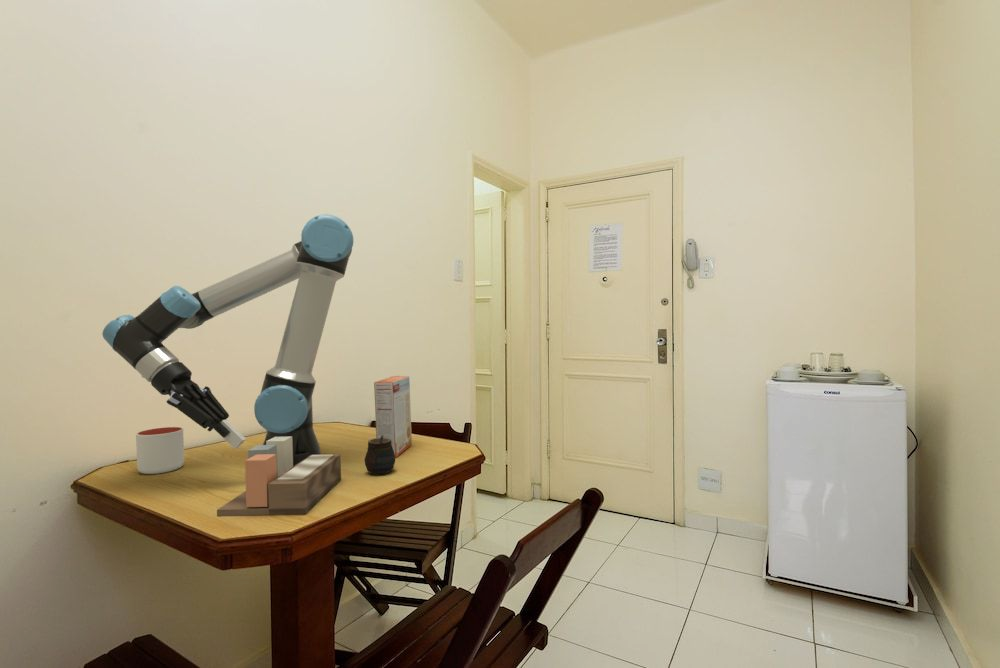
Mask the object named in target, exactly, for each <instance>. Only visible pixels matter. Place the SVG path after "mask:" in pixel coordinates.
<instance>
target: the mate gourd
mask: <svg viewBox="0 0 1000 668" xmlns="http://www.w3.org/2000/svg"><path fill="white" fill-rule="evenodd" d="M383 436H384V435H383ZM383 436H381V438H376V437H374V438H371V439H368V441H367V450H366V453H365V456H364V466H365V467H366V470H367V472H368V473H370V474H372V475H375V476H381V475H383V476H384V475H386V474H389V473H390V472H392V470H393V469H394V467H395V463H396V458H395V454H394V451H393V448H392V445H391V441H392V440H391V439H389V438H383Z"/></svg>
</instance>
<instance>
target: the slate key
mask: <svg viewBox="0 0 1000 668" xmlns="http://www.w3.org/2000/svg"><path fill="white" fill-rule="evenodd" d="M257 454H276V463H277V445H263V444H258V445H255V446H253V447H251V448H250V449H248V450H247V459H249V458H251V457H253V456H254V455H257ZM277 478H278V472H277Z"/></svg>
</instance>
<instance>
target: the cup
mask: <svg viewBox="0 0 1000 668" xmlns="http://www.w3.org/2000/svg"><path fill="white" fill-rule="evenodd" d="M135 438H136V439H135V440H136V441H135V443H136V446H135V447H136V469H137V471H138V472H139V473H141V474H144V475H155V474H156V475H158V474H164V473H169V472H173V471H176V470H179V469H180V468H181V467H182V466H184V463H185V448H184V447H185V444H184V442H185V441H184V439H185V438H184V428H183V427H181V426H170V427H169V426H168V427H167V426H166V427H165V426H164V427H157V428H151V429H150V428H149V429H145V430H142V431H138V432H136V433H135Z"/></svg>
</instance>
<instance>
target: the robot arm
mask: <svg viewBox="0 0 1000 668" xmlns="http://www.w3.org/2000/svg"><path fill="white" fill-rule="evenodd" d="M300 236H301V241H298V242H296V243H294V244H293V245H292V247H291V249H290V250H288V251H285V252H283V253H282V254H279V255H276V256H274V257H271V258H270V259H267V260H265V261H264V262H263V261H262V262H261V263H259V264H257V265H254V266H252V267H250V268H247V269H244V270H243V271H241V272H238V273H236V274H234V275H232V276H230V277H227V278H225V279H223V280H221V281H218V282H216V283H213V284H212V285H209V286H207V287H205V288H202V289H200V290H198V291H196V292H194V293H191V292H189V291H188V290H187V289H185V288H183V287H182V286H180V285H174V286H172V287H170V288H169V289H168V290H166V291H165V292H163V293H162V294H161V295H160V296H159V297H157V299H155V300H154V302H152V303H151V304H149V306H147V307H146V308H145V309H144V310H143V311H142V312H140V313H139V314H137V316H135V317H134V316H133V315H132V314H131V315H130V314H123V315H121V316H118V317H116V318H115V319H113V320H110V321H109V322H108V323H107V324H106V325H105V326H104V328H103V330H102V333H101V334H102V337H103V339H104V341H105V342H106V343H107V344H109V346H110V347H111V349H112V350H113V351H114V352H116V354H118V355H119V356H120V357H122V358H123V360H125V361H126V362H127V363H128V364H129V365H130V366H131V367H132V368H133V369H134V370H136V371H137V372H138V373H139V374H140V375H141V377H142V378H143V379H145V380H146V381H147V382H148V383H150V385H151V386H152V387H153V388H154V389H155V391H157V392H158V393H159V394H160V395H163V396H166V395H169V398H167V400H166V403H167V405H169V406H171V407H173V408H176V409H177V410H178V411H180V412H181V413H182V414H184V415H185V416H187V417H188V418H189V419H191V420H192V421H193V422H195V423H196V424H197V425H199V426H200V427H202V428H203V429H205V430H207V431H208V432H212V430H214V431H215V432H216V433H218V434H219V435H220V436H221V437H222V438H223V439H224V440H225V441H226V442H227V444H229V445H230V446H231V447H232V448H233V449H235V450H236V449H238V448H239V447H240V446H241V445H242V444H243V443H244V442H245V441H246V440H247V438H246V437H245V436H244V435H243V434H242V433H241V432H240V431H239V430H238V429H237V428H236V427H234V425H232V424H231V423H230V422H229V421H228V420H227V419H228V418H229V417H230V415H229V412H228V411H227V410H226V409H225V408H224V407H223V405H222V404H221V403H220V402H219V401H218V399H217V398H216V397H215V395H214V394H213V393H212V390H211V388H210V387H209V386H204V388H203V387H200V386H199V384H198V383H196V382H194V380H192V378H191V377H192V374H193V372H192V371H191V370H190V368H188V367H187V366H186V364H184V363H183V362H181V361H180V359H179V358H178V357H177V356H176V355H175V354H173V352H172V351H170V350H169V348H167V347H166V346H165V345H164V344H163V342H164V341H166V339H167V338H168V337H170V336H171V335H172V334H173V333H174V332H176V331H177V330H178V329H190V330H191V329H195V328H198V327H200V326H202V325H203V324H204V323H205V322H207V321H209V320H211V319H213V318H216V317H217V316H219V315H222V314H224V313H226V312H228V311H230V310H232V309H234V308H237V307H239V306H242V305H245V304H246V303H248V302H250V301H253V300H254V299H256V298H259V297H261V296H263V295H265V294H267V293H270V292H272V291H274V290H276V289H279V288H281V287H283V286H284V285H288V284H290V283H292V282H295V281H296V280H297V284H296V288H295V292H294V296H293V298H292V299H293V300H292V302H291V306H290V310H289V314H288V318H287V321H286V325H285V328H284V331H283V335H282V340H281V343H280V347H279V351H278V354H277V357H276V361H275V365H274V366H273V367H271V368H270V369H268V370H267V371H265V372H266V373H265V376H264V379H263V384H262V387H261V389H260V393H259V395H258V396H257V398H256V399H255V402H254V406H253V409H254V417H255V419H256V421H257V423H258V424H259V425H260V426H261V427H262V428H263V429H264V430H266V434H265V438H264V441H263V444H262V445H266V441H268V440H270V439H272V438H274V437H287V436H292V445H293V466H295V465H297V464H298V463H300V462H301V461H302V460H304V459H305V458H307V457H308V456H310V455H321V446H320V443H319V441H318V438H317V435H316V433H315V430H314V417H313V395H314V391H315V386H316V381H317V380H315V377H314V376H313V368H314V365H315V361H316V358H317V354H318V352H319V351H318V350H319V347H320V342H321V339H322V336H323V333H324V328H325V325H326V321H327V316H328V312H329V309H330V306H331V303H332V298H333V294H334V291H335V286H336V285H337V284H336V283H337V282H338V281H340V280H341V279H342V278H344V277H345V274H346V270H347V267H348V263H349V260H350V256H351V254H352V251H353V246H354V235H353V232H352V229H351V228H350V226H349V225H348V224H347V222H345V221H344V220H343V219H342V218H340V217H338V216H336V215H333V214H320V215H316V216H314V217H312V218H311V219H309V220H307V222H306V223H305V225H304V227H303V228H302V230H301V234H300Z"/></svg>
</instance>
